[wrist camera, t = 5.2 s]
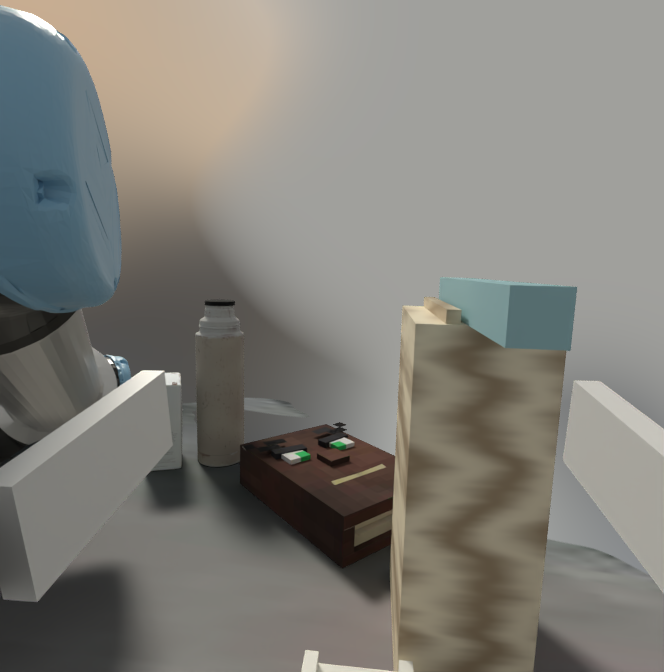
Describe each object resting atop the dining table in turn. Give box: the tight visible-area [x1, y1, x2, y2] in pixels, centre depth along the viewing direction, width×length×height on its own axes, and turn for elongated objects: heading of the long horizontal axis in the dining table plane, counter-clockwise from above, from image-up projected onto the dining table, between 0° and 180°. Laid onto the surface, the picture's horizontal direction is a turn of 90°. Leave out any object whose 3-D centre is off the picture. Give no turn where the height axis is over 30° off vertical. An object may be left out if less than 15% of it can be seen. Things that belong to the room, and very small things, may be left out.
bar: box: [439, 277, 577, 351], centre depth 33 cm, size 3×24×3 cm, turn 174°
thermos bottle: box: [196, 299, 244, 467], centre depth 78 cm, size 8×8×28 cm
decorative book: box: [240, 422, 395, 568], centre depth 66 cm, size 19×8×30 cm
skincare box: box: [151, 373, 182, 471], centre depth 77 cm, size 8×6×15 cm
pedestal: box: [390, 297, 566, 672], centre depth 40 cm, size 10×16×31 cm, turn 174°
